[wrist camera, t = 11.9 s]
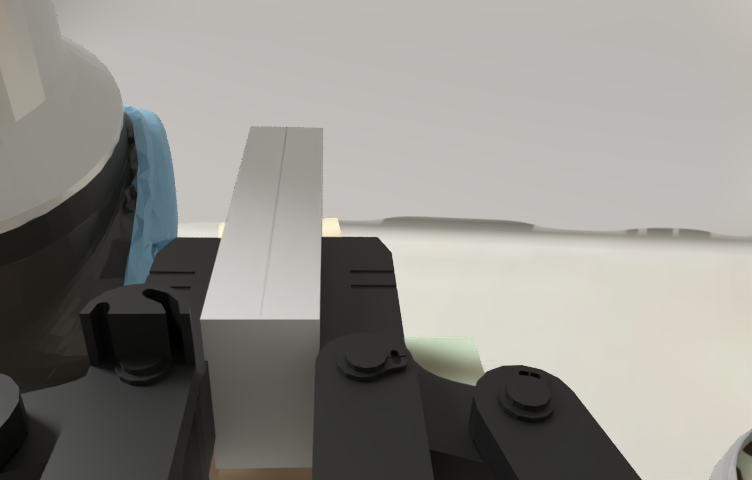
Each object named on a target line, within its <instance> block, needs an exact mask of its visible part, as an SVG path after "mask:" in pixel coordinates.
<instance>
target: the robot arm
mask: <svg viewBox="0 0 752 480" xmlns="http://www.w3.org/2000/svg"><path fill="white" fill-rule="evenodd" d="M322 197H323V128H300V127H253V126H252V127H250V132H249V135H248V139H247V143H246V147H245V150H244V154H243V158H242V162H241V165H240V170H239V174H238V177H237V181H236V184H235V188H234V192H233V196H232V200H231V204H230V208H229V211H228V215H227V219H226V222H225V226H224V230H223V234H222V238H182V237H177V229H178V212H177V200H176V189H175V179H174V172H173V164H172V158H171V153H170V147H169V144H168V140H167V136H166V131H165V129H164V126H163V124H162V122H161V120H160V119H159V117H158V116H157V115H156V114H154V113H153V112H150V111H148V110H143V109H136V108H134V107H132V106H128V105H125V104H124V105H123V103H122V99H121V94H120V90H119V88H118V86H117V84H116V82H115V80H114V78H113V76H112V75H111V73H110V72H109V70H108V69H107V67H106V66H105V65H104V64H103V63H102V62H101V61H100V60H99V59H98V58H97V57H96V56H95V55H93V54H92V53H91V52H89V51H88V50H86V49H85V48H84V47H82V46H81V45H79V44H77V43H75V42H73V41H72V40H70V39H68V38H66V37H64V36H62V35H61V34H60V29H59V24H58V20H57V15H56V10H55V6H54V1H53V0H0V480H210V479H209V472H210V466H211V461H212V455H213V450H214V455H215V465H216V469H242V468H306V467H312V480H642V479H641V478H640V477H639V476H638V474H637V473H636V472H635V470H634V469H633V468H632V467H631V465H630V464H629V463H628V461H627V460H626V459H625V458H624V456H623V455H622V454H621V452H620V451H619V450H618V449H617V447H616V446H615V445H614V443H613V442H612V441H611V439H610V438H609V437H608V436H607V434H606V433H605V432H604V430H603V429H602V428H601V427H600V425H599V424H598V423H597V421H596V420H595V419H594V418H593V416H592V415H591V414H590V412H589V411H588V410H587V409H586V407H585V406H584V405H583V403H582V402H581V401H580V399H579V398H578V397H577V396H576V394H575V393H574V392H573V391H572V390H571V389H570V388H569V387H568V386H567V385H566V384H565V383H564V382H563V381H561V380H560V379H559V378H557V377H555V376H553V375H551V374H549V373H547V372H545V371H543V370H541V369H537V368H532V367H528V366H523V365H513V366H501V367H498V368H495V369H493V370H490V371H487V372H486V373H485V374H484V375H483V376H482V377H481V378H480V379H479V380H478V381H477V382H476V386H473V385H469V384H465V383H460V382H456V381H452V380H449V379H446V378H442V377H439V376H437V375H435V374H433V373H431V372H429V371H427V370H425V369H424V368H423V367H421V366H420V365H419V364H418V363H417V362H415V361H414V359H413V357H412V355H411V352H410V351H409V350H408V349H407V347H406V344H405V339H404V333H403V326H402V319H401V312H400V306H399V299H398V292H397V289H396V279H395V274H394V266H393V259H392V253H391V252H390V250H389V249H388V248H387V247H386V246H385V245H384V244H383V243H382V242H381V240H380V239H379V238H378V237H322V202H323V199H322Z"/></svg>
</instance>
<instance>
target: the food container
mask: <svg viewBox="0 0 752 480" xmlns="http://www.w3.org/2000/svg"><path fill="white" fill-rule="evenodd" d="M709 480H752V429H751V430H750V431H748V432H746V433H745V434H743V435H742V436H740V437H739V438H738V439H737V440H736V442H735V443H734V444H733V445H732V446H731V447H730V448H729V450H728V451H727V452H726V453H725V455H724V456H723V457H722V458H721V460H720V461H719V462H718V463H717V465H716V466H715V468H714V470H713V472H712V474H711V476H710V478H709Z"/></svg>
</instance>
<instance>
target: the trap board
mask: <svg viewBox="0 0 752 480" xmlns="http://www.w3.org/2000/svg"><path fill="white" fill-rule="evenodd" d="M404 339H405V344H406V347H407V349H408V350H409V351H410V352H411V355H412V357H413V359H414V361H415V362H417V363H418V364H419V365H420V366H421V367H423V368H424V369H425V370H427V371H429V372H431V373H433V374H435V375H437V376H439V377H442V378H446V379H449V380H452V381H456V382H460V383H465V384H469V385H473V386H476V382H477V381H478V380H479V379H480V378H481V377H482V376H483V375H484V371H483V368H482V365H481V361H480V358H479V355H478V351H477V348H476V345H475V341H474V338H473V337H404ZM209 479H210V480H312V467H306V468H242V469H216V465H215V455H214V450H213V455H212V461H211V466H210V472H209Z"/></svg>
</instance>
